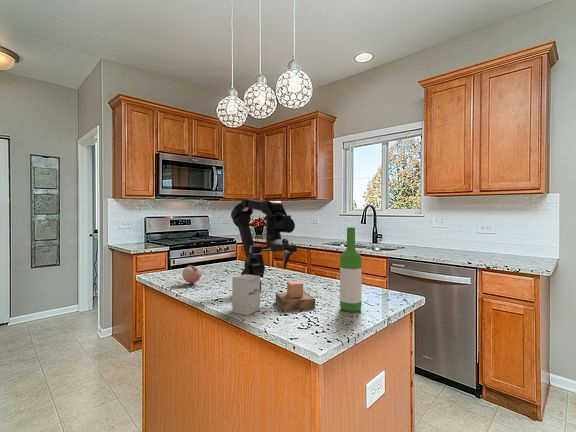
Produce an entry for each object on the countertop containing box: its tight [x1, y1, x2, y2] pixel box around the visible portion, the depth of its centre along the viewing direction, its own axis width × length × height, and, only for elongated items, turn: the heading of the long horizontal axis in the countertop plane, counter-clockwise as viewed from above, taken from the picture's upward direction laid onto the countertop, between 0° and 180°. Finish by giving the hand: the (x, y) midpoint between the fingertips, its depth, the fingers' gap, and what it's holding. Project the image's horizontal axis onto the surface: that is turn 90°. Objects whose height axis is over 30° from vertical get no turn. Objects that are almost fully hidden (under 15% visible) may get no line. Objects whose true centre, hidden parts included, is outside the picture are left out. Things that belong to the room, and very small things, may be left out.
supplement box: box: [231, 274, 261, 316], centre depth 115 cm, size 7×7×13 cm
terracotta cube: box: [286, 280, 304, 298], centre depth 123 cm, size 5×5×5 cm
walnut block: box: [275, 290, 316, 312], centre depth 123 cm, size 12×12×4 cm
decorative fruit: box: [181, 264, 203, 285], centre depth 156 cm, size 9×8×10 cm
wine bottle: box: [339, 227, 363, 313], centre depth 117 cm, size 8×8×30 cm
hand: (273, 269), depth 130 cm, fingers open, 9 cm apart
